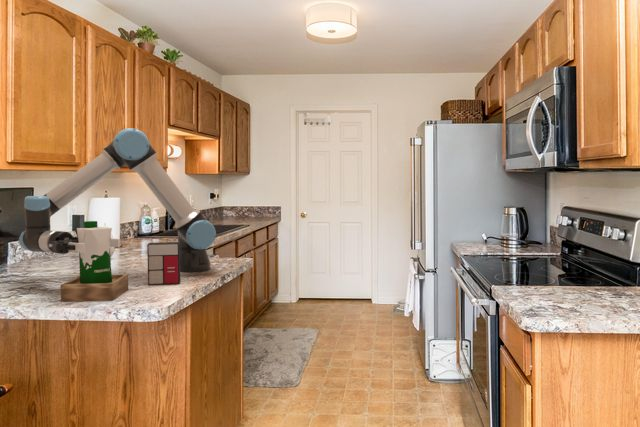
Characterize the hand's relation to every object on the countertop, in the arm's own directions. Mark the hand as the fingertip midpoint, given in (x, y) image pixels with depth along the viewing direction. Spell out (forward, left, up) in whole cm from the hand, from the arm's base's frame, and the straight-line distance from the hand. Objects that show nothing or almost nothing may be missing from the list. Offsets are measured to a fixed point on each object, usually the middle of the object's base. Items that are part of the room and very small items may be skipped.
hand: (102, 245), depth 149 cm
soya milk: (+3, -2, -13) cm, 13 cm away
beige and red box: (-15, -18, -17) cm, 29 cm away
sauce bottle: (+26, -78, -17) cm, 84 cm away
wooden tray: (+3, -2, -16) cm, 17 cm away
